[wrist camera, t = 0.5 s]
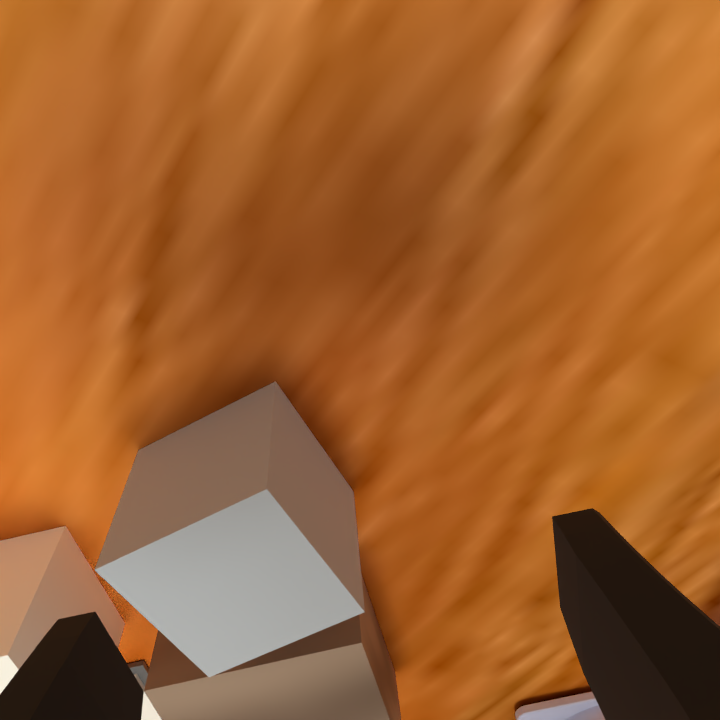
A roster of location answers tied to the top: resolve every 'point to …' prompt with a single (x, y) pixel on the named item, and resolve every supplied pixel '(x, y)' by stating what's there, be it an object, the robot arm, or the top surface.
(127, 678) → the robot arm
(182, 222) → the top surface
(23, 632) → the cream cube
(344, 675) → the walnut slab
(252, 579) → the slate cube
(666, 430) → the top surface
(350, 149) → the top surface
